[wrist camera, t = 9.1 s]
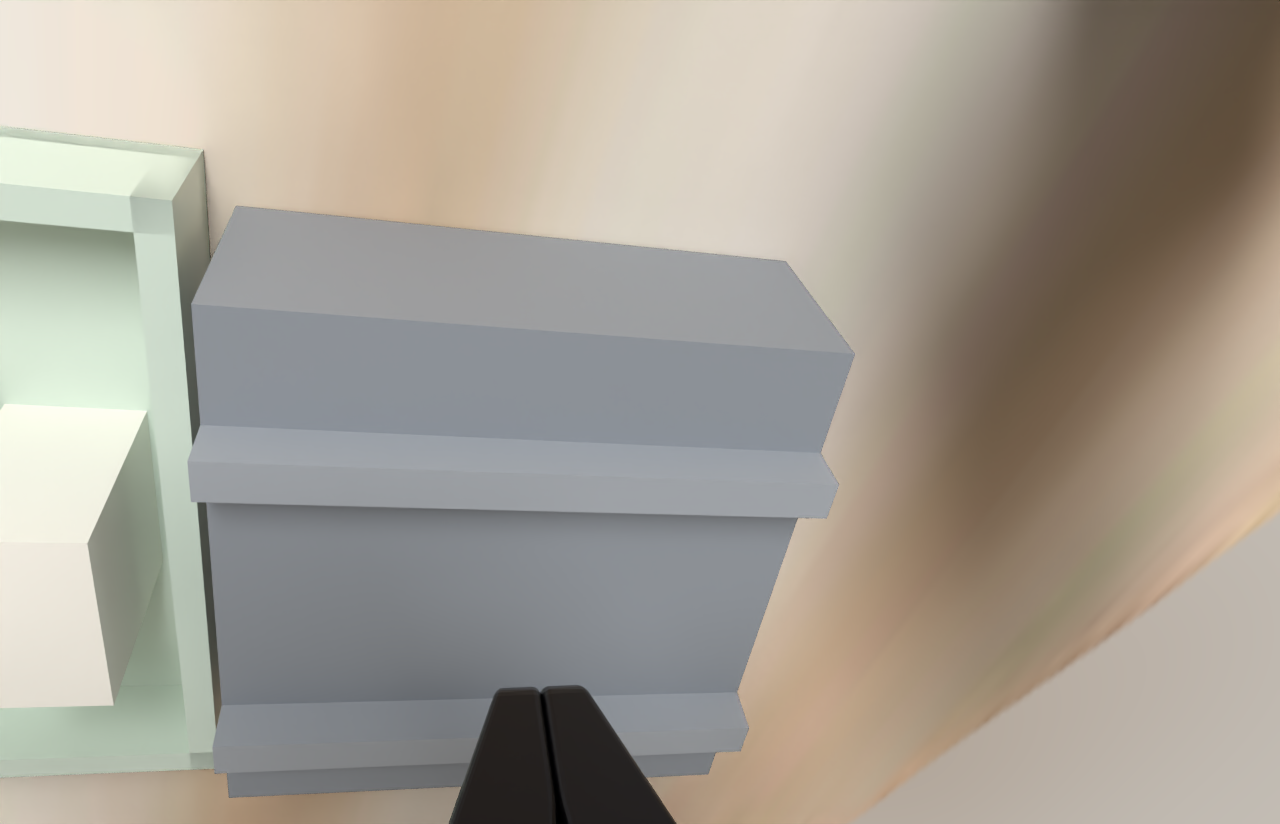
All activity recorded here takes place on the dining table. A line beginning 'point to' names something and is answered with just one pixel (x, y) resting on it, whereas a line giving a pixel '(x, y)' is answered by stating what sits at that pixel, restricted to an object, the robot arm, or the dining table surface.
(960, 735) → the dining table surface
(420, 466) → the bench board
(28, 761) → the tray
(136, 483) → the tile
